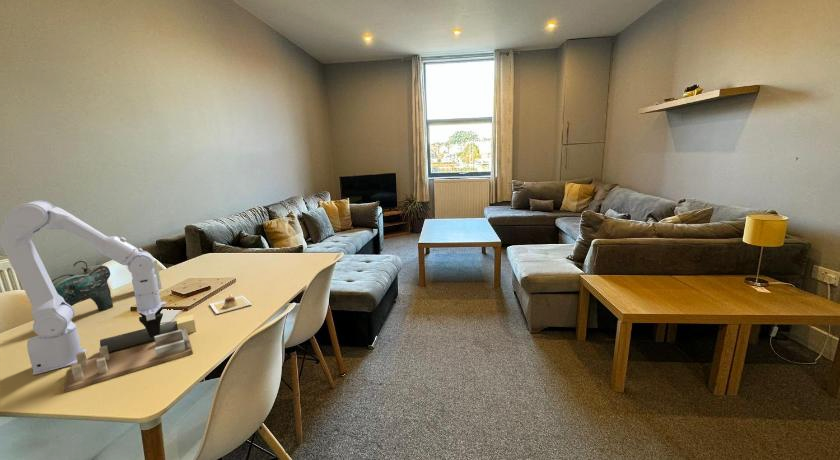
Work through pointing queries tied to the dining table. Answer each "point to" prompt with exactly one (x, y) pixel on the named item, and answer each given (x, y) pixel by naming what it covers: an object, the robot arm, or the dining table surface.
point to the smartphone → (169, 315)
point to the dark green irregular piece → (86, 286)
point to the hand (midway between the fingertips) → (154, 333)
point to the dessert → (229, 303)
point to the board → (127, 359)
